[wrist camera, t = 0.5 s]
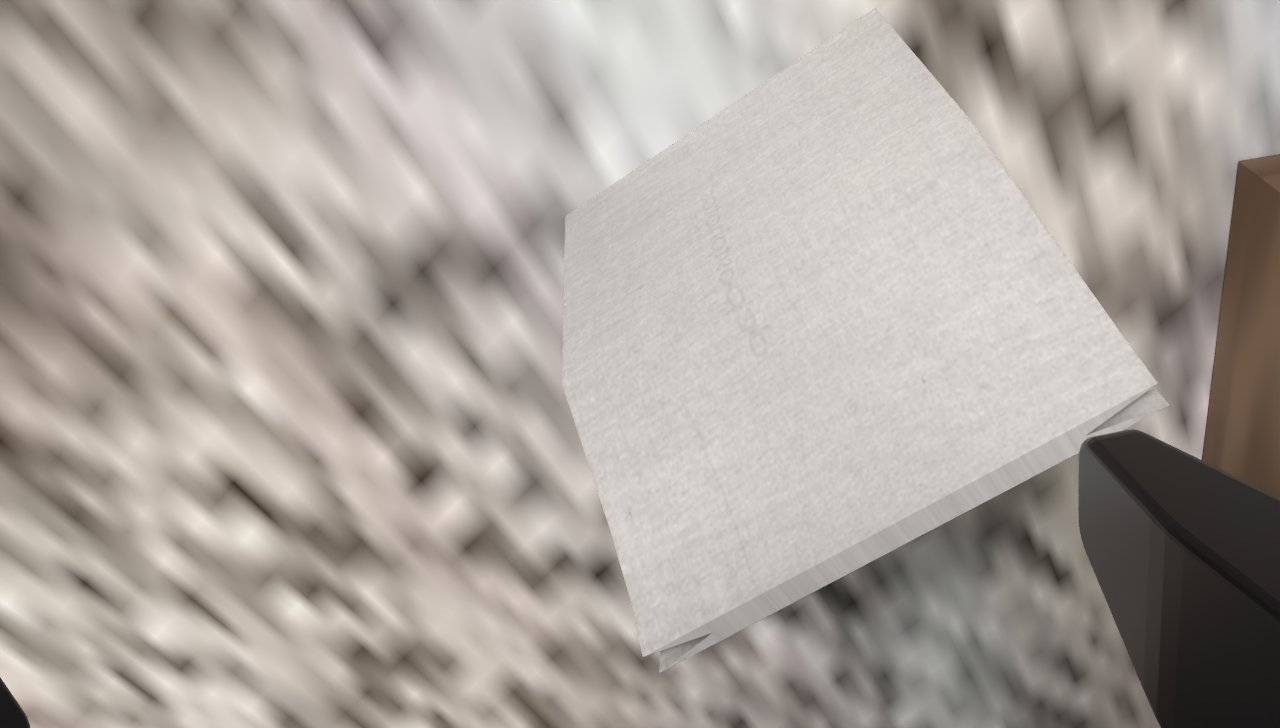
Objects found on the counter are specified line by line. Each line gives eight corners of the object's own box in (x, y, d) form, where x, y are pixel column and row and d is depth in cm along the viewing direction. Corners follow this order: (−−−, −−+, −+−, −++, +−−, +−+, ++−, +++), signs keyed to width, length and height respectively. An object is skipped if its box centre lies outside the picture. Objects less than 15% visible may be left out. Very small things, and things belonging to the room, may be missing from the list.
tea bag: (565, 215, 22) (558, 573, 13) (874, 7, 20) (1095, 266, 12) (673, 349, 23) (727, 741, 15) (967, 167, 22) (1218, 497, 13)
